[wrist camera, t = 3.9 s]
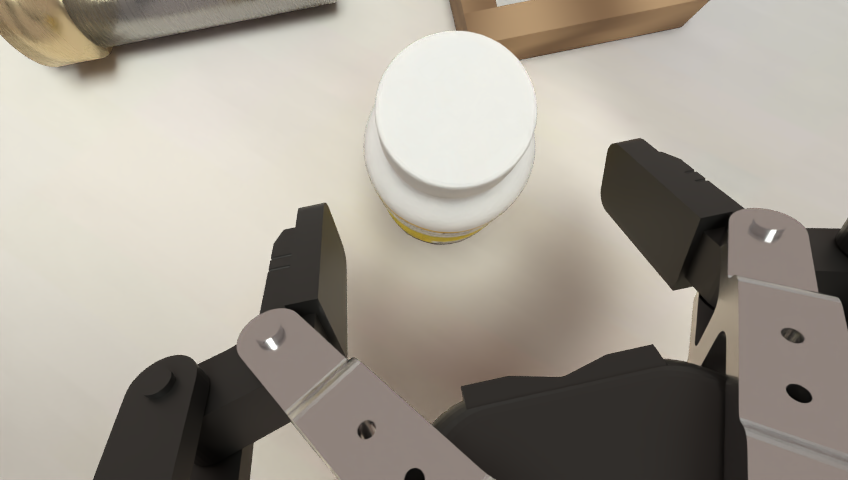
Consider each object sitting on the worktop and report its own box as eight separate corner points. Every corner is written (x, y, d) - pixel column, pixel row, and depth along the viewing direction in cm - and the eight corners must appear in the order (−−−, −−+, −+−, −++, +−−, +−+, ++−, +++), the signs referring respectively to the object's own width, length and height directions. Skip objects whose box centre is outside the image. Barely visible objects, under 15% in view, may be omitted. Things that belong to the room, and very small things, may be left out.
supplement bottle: (419, 114, 20) (419, -40, 10) (516, 170, 20) (611, 69, 10) (362, 209, 19) (303, 146, 10) (460, 267, 19) (502, 261, 10)
